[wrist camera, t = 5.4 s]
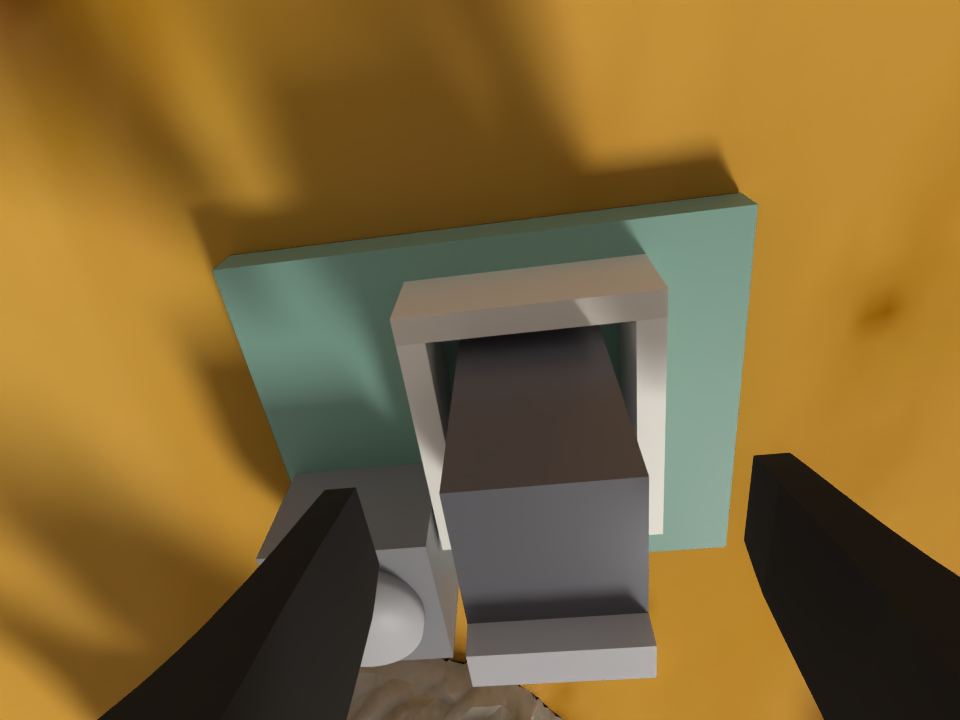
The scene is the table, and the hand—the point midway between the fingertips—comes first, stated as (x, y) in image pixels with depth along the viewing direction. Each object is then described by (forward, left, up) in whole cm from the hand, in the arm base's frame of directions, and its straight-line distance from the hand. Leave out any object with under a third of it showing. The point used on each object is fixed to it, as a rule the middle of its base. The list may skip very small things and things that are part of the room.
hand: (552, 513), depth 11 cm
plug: (0, 0, -4) cm, 4 cm away
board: (+1, +1, -5) cm, 6 cm away
